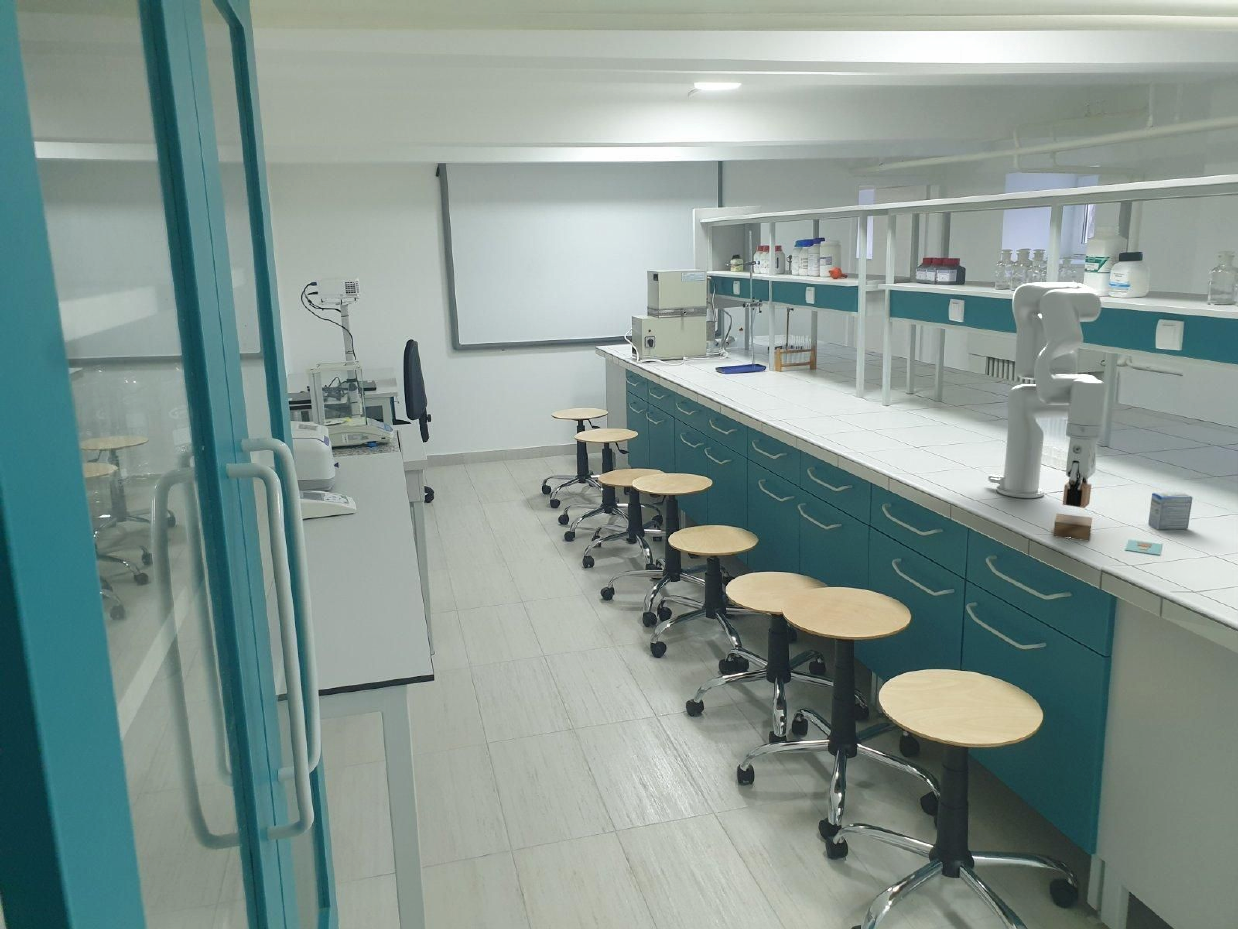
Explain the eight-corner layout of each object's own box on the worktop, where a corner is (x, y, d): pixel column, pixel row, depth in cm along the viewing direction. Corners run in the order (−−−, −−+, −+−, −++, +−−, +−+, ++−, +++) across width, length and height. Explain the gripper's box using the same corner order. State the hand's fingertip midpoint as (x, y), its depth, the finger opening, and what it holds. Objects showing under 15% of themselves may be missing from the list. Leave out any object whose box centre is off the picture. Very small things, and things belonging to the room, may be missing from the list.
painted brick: (1062, 504, 225) (1064, 482, 224) (1067, 500, 229) (1069, 478, 228) (1084, 508, 222) (1087, 485, 221) (1089, 503, 226) (1091, 481, 225)
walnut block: (1053, 537, 226) (1054, 521, 225) (1055, 528, 233) (1056, 513, 232) (1089, 541, 222) (1091, 526, 221) (1090, 532, 229) (1092, 517, 228)
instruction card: (1125, 550, 215) (1125, 549, 215) (1128, 540, 222) (1128, 538, 222) (1159, 555, 211) (1159, 554, 211) (1161, 544, 219) (1162, 543, 219)
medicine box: (1177, 524, 235) (1182, 491, 233) (1188, 529, 230) (1193, 496, 228) (1147, 524, 235) (1151, 492, 233) (1157, 530, 230) (1162, 496, 228)
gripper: (1093, 437, 213) (1084, 513, 217) (1108, 426, 226) (1099, 498, 230) (1058, 434, 217) (1050, 507, 221) (1075, 423, 230) (1067, 493, 234)
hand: (1075, 502), depth 225 cm, fingers closed on painted brick, 5 cm apart
